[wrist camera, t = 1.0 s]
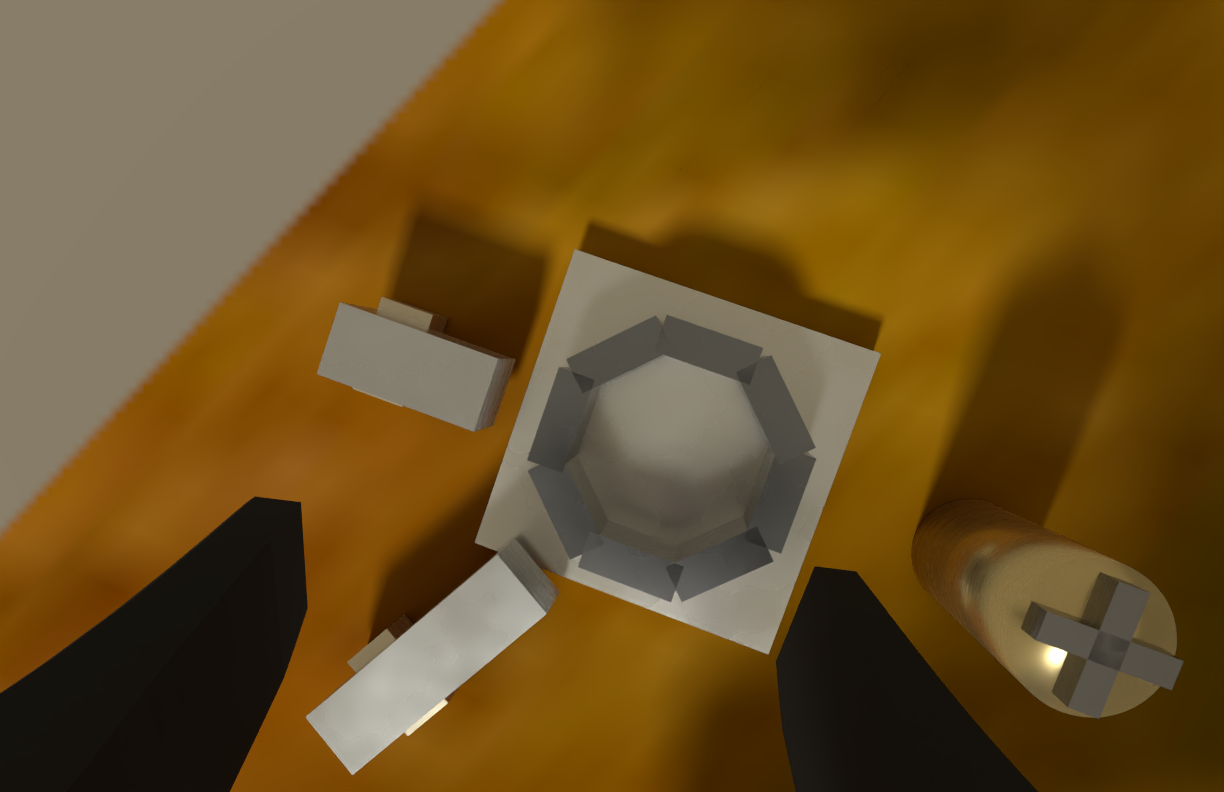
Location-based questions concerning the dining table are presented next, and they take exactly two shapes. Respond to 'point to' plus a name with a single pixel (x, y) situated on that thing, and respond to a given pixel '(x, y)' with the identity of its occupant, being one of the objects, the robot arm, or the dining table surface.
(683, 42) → the dining table surface
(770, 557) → the coupling socket
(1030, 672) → the coupler
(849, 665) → the robot arm
